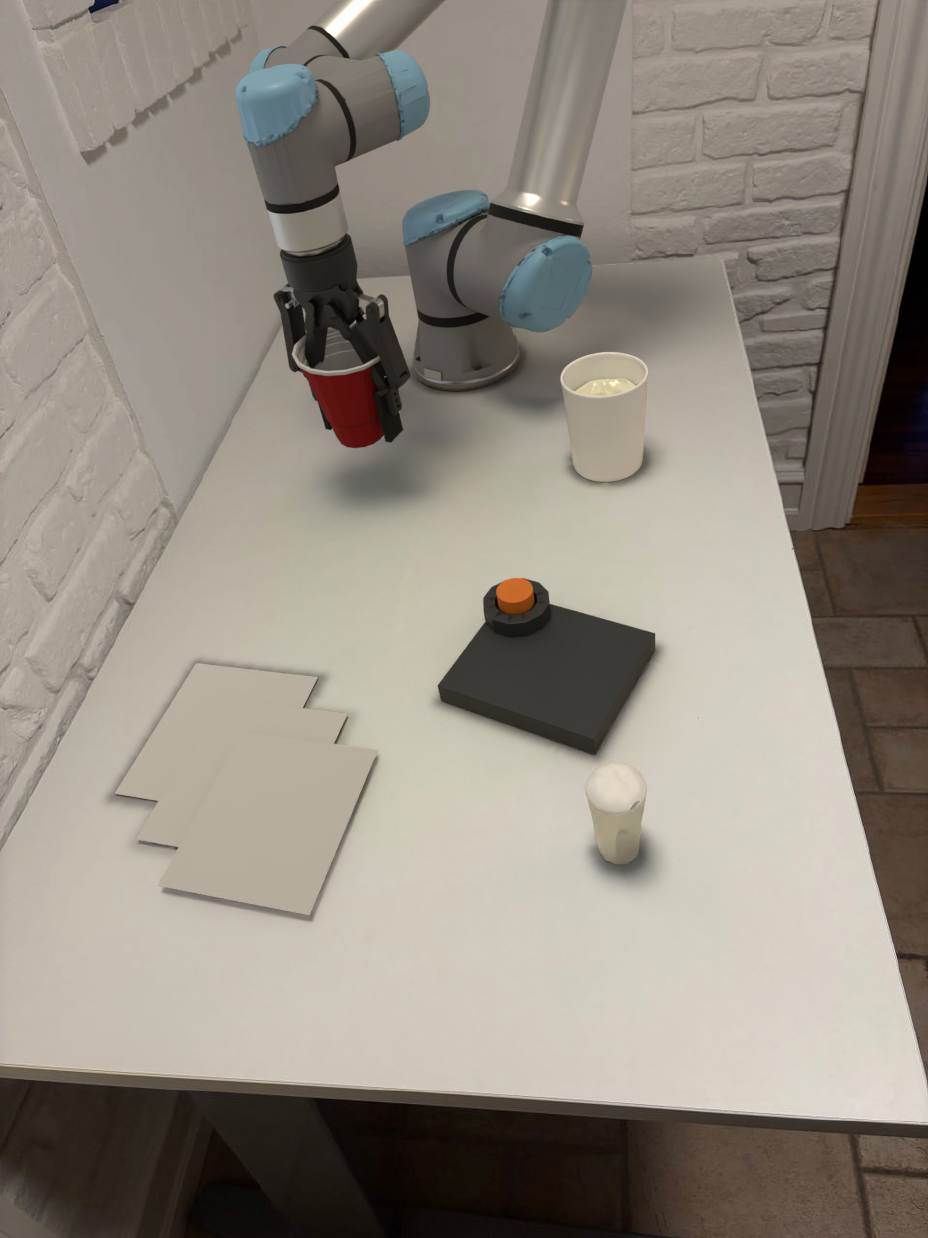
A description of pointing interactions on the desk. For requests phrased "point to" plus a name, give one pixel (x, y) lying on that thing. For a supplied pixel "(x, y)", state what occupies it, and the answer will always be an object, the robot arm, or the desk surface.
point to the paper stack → (248, 787)
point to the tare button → (515, 596)
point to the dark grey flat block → (549, 670)
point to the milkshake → (617, 810)
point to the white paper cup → (606, 414)
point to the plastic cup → (344, 390)
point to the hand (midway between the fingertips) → (364, 429)
